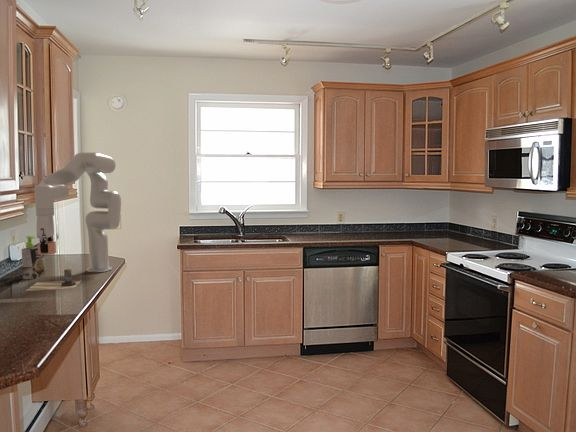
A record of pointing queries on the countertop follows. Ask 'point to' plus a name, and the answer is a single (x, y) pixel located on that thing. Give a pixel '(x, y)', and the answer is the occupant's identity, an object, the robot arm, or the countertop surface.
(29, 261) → the coffee box
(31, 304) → the countertop surface
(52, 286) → the post board
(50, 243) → the collar
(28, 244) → the soap dispenser
